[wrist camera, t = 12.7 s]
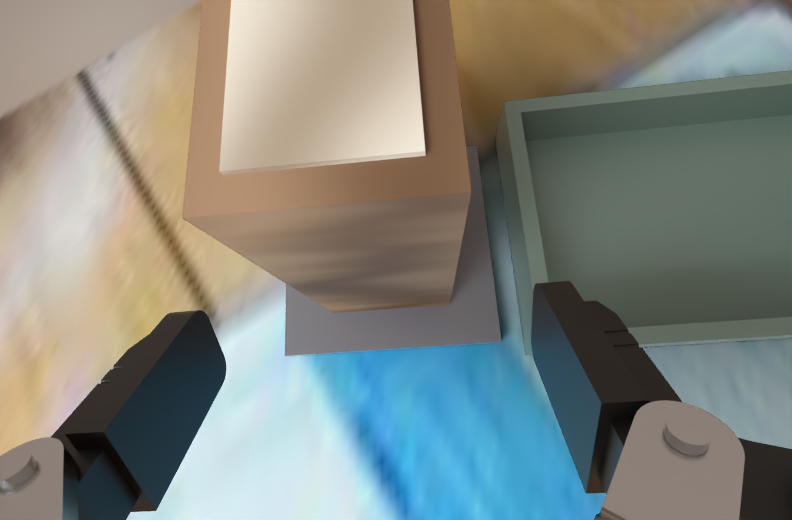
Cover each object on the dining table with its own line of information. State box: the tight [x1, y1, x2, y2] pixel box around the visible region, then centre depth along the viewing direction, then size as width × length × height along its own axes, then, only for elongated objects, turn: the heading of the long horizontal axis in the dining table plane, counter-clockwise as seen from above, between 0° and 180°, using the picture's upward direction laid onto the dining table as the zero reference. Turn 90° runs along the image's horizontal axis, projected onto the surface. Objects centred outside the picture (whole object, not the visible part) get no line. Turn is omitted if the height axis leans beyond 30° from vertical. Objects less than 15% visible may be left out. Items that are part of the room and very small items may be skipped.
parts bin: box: [495, 71, 792, 355], centre depth 16 cm, size 21×10×3 cm, turn 93°
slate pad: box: [285, 146, 502, 356], centre depth 19 cm, size 9×9×1 cm
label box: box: [182, 0, 471, 313], centre depth 13 cm, size 5×6×11 cm
